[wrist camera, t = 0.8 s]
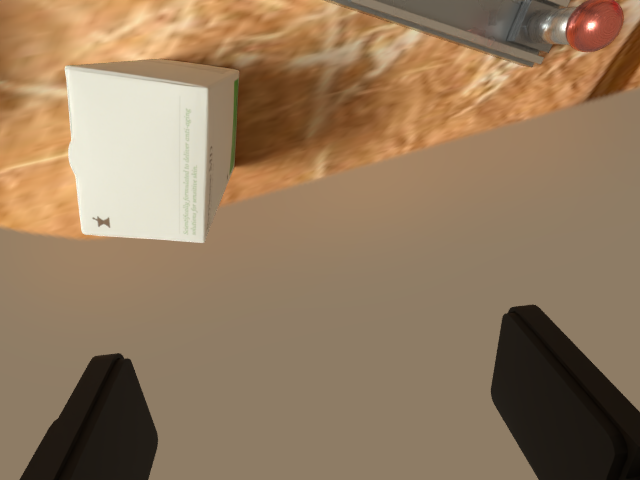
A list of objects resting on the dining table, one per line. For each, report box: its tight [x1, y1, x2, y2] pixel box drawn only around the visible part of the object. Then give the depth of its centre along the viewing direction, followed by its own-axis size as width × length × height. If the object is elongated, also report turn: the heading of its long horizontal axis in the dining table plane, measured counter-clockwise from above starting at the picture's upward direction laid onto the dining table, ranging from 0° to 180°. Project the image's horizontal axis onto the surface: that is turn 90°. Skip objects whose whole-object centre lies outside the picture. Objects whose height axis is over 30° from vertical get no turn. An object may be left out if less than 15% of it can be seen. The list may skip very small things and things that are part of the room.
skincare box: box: [65, 59, 239, 243], centre depth 27 cm, size 8×7×16 cm
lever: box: [507, 0, 624, 53], centre depth 28 cm, size 3×3×8 cm
